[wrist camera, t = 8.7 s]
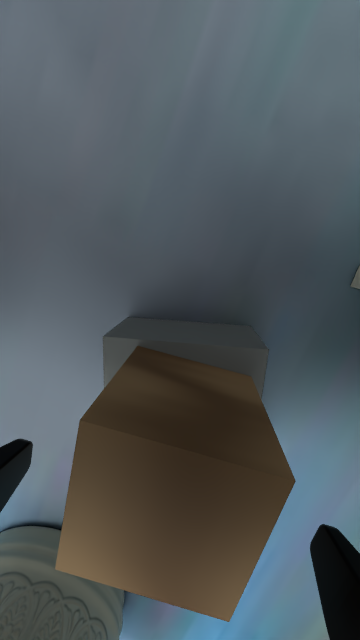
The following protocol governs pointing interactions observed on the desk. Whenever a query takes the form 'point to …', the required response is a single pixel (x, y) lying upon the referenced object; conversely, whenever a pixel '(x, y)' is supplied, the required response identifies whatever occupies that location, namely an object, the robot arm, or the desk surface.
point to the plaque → (356, 280)
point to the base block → (188, 345)
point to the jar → (51, 593)
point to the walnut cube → (174, 484)
